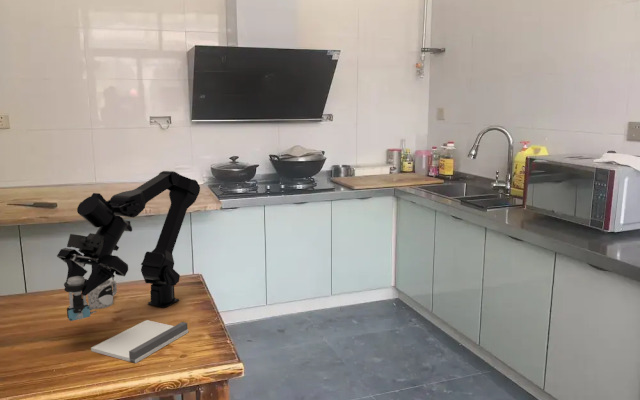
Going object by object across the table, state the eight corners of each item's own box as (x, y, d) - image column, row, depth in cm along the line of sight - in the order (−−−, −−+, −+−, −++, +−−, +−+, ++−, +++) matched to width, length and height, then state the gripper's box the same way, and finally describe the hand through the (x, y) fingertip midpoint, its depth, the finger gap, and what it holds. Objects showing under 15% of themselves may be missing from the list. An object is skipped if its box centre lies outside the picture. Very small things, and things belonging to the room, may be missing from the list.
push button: (93, 310, 128) (91, 272, 126) (99, 317, 124) (96, 278, 122) (64, 316, 124) (61, 277, 122) (69, 324, 120) (66, 284, 118)
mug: (102, 310, 146) (100, 287, 145) (83, 307, 148) (81, 285, 147) (125, 298, 155) (124, 277, 154) (107, 295, 157) (106, 274, 156)
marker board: (146, 322, 137) (146, 313, 137) (188, 332, 131) (187, 323, 131) (91, 350, 121) (90, 341, 121) (135, 363, 115) (135, 352, 115)
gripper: (59, 216, 127) (23, 272, 120) (115, 223, 120) (80, 283, 112) (88, 239, 136) (56, 293, 128) (142, 247, 128) (111, 304, 120)
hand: (74, 293), depth 122 cm, fingers closed on push button, 5 cm apart
